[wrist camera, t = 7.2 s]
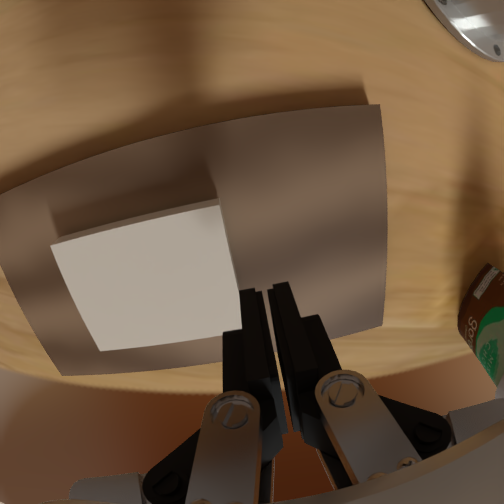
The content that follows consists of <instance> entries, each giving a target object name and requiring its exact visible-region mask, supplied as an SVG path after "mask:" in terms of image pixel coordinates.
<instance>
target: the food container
mask: <svg viewBox="0 0 504 504" xmlns="http://www.w3.org/2000/svg"><path fill="white" fill-rule="evenodd" d="M458 330H459V332H460V334H461V336H462V337H463V338H464V340H465V341H466V342H467V344H468V345H469V347H470V348H471V349H472V351H473V352H474V354H475V355H476V356H477V358H478V359H479V361H480V362H481V364H482V365H483V367H484V368H485V369H486V371H487V373H488V374H489V376H490V377H491V379H492V380H493V382H494V384H495V385H496V387H497V390H496V394H495V399H498V398H504V273H503V272H501V271H500V270H498V269H497V268H495V267H494V266H492V265H490V264H489V263H488V264H487V265H486V266H485V267H484V268H483V269H482V270H481V271H480V273H479V274H478V276H477V277H476V279H475V280H474V282H473V283H472V285H471V286H470V288H469V290H468V292H467V294H466V296H465V298H464V300H463V302H462V305H461V308H460V312H459V315H458Z"/></svg>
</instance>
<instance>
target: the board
mask: <svg viewBox="0 0 504 504" xmlns="http://www.w3.org/2000/svg"><path fill="white" fill-rule="evenodd" d="M217 198H220V203H221V207H222V212H223V217H224V221H225V226H226V231H227V235H228V240H229V244H230V249H231V253H232V258H233V263H234V267H235V272H236V276H237V280H238V285H239V289H240V290H244V289H249V288H255V291H256V292H257V291H262V294H263V299H264V304H265V309H266V314H267V319H268V324H269V329H270V334H271V339H272V345H273V350H274V352H277V347H276V341H275V335H274V329H273V323H272V317H271V311H270V305H269V299H268V293H267V289H273V286H272V284H276V283H281V282H287V281H288V282H289V284H290V287H291V290H292V293H293V296H294V299H295V301H296V304H297V307H298V310H299V313H300V316H301V317H306V316H311V315H316V314H318V315H319V316H320V318H321V320H322V323H323V325H324V327H325V330H326V332H327V335H328V337H329V339H334V338H338V337H342V336H346V335H350V334H353V333H357V332H361V331H364V330H368V329H371V328H375V327H378V326H382V323H383V313H384V301H385V287H386V268H387V182H386V163H385V149H384V138H383V128H382V118H381V110H380V104H378V105H353V106H338V107H325V108H314V109H304V110H295V111H287V112H279V113H272V114H265V115H259V116H252V117H246V118H241V119H235V120H229V121H224V122H219V123H214V124H209V125H204V126H200V127H195V128H191V129H187V130H182V131H178V132H174V133H170V134H166V135H162V136H158V137H155V138H151V139H147V140H144V141H140V142H137V143H133V144H130V145H127V146H123V147H120V148H117V149H114V150H111V151H107V152H104V153H101V154H98V155H95V156H93V157H90V158H87V159H84V160H81V161H78V162H76V163H73V164H70V165H68V166H65V167H62V168H60V169H57V170H55V171H52V172H50V173H47V174H45V175H43V176H40V177H38V178H35V179H33V180H31V181H29V182H26V183H24V184H22V185H20V186H17V187H15V188H13V189H11V190H9V191H7V192H5V193H3V194H1V195H0V265H1V267H2V270H3V272H4V274H5V276H6V279H7V281H8V283H9V285H10V287H11V289H12V291H13V293H14V295H15V297H16V299H17V301H18V303H19V305H20V307H21V309H22V311H23V313H24V315H25V317H26V318H27V320H28V322H29V324H30V326H31V327H32V329H33V331H34V333H35V334H36V336H37V338H38V339H39V341H40V343H41V344H42V346H43V348H44V349H45V351H46V352H47V354H48V355H49V357H50V359H51V360H52V362H53V363H54V365H55V366H56V368H57V369H58V370H59V372H60V373H61V375H62V376H73V375H99V374H116V373H129V372H141V371H152V370H162V369H171V368H179V367H187V366H195V365H202V364H209V363H216V362H222V361H223V359H222V335H221V336H215V337H209V338H202V339H196V340H189V341H183V342H176V343H168V344H161V345H153V346H145V347H137V348H128V349H118V350H108V351H100V350H99V348H98V347H97V345H96V343H95V341H94V339H93V338H92V336H91V334H90V332H89V330H88V328H87V326H86V324H85V322H84V321H83V319H82V317H81V315H80V313H79V311H78V309H77V307H76V305H75V302H74V300H73V298H72V296H71V294H70V292H69V290H68V287H67V285H66V283H65V281H64V278H63V276H62V274H61V272H60V269H59V267H58V264H57V262H56V259H55V257H54V254H53V252H52V249H51V247H50V245H52V244H53V243H54V242H55V241H56V240H57V239H58V238H59V237H62V236H65V235H69V234H72V233H76V232H79V231H83V230H87V229H90V228H94V227H98V226H102V225H105V224H109V223H113V222H117V221H121V220H125V219H129V218H133V217H137V216H141V215H145V214H149V213H154V212H158V211H162V210H166V209H171V208H175V207H180V206H184V205H189V204H193V203H198V202H203V201H208V200H212V199H217Z"/></svg>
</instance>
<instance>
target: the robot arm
mask: <svg viewBox="0 0 504 504" xmlns="http://www.w3.org/2000/svg"><path fill="white" fill-rule="evenodd" d="M424 1H425V2H426V4H427V5H428V6H429V8H430V9H431V10H432V12H433V13H434V14H435V16H436V17H437V18H438V19H439V20H440V22H441V23H442V24H443V25H444V26H445V27H446V28H447V30H448V31H449V32H450V33H451V34H452V35H453V36H454V37H455V38H456V39H457V40H459V41H460V42H461V43H462V44H463V45H464V46H466V47H467V48H468V49H469V50H471V51H472V52H474V53H475V54H477V55H479V56H480V57H482V58H484V59H487V60H490V61H493V62H504V0H424ZM272 286H273V289H267V293H268V299H269V305H270V311H271V317H272V323H273V329H274V335H275V341H276V347H277V353H278V358H279V363H280V368H281V372H282V377H283V382H284V387H285V392H286V396H287V401H288V406H289V411H290V416H291V421H292V425H293V430H294V432H296V431H301V436H302V439H304V442H305V443H306V444H308V445H310V446H313V447H315V448H316V449H317V453H318V455H319V457H320V460H321V462H322V464H323V466H324V468H325V471H326V473H327V475H328V477H329V479H330V481H331V484H332V486H333V488H334V490H335V491H331V492H327V493H322V494H318V495H313V496H309V497H304V498H299V499H293V500H287V501H281V502H274V503H273V483H274V457H275V455H276V454H277V453H278V452H279V451H280V450H281V449H282V448H283V440H282V434H286V433H288V429H287V422H286V416H285V411H284V405H283V399H282V393H281V387H280V381H279V376H278V370H277V365H276V360H275V355H274V350H273V345H272V339H271V334H270V329H269V324H268V319H267V314H266V309H265V304H264V299H263V294H262V291H257V292H256V291H255V288H249V289H244V290H239V298H240V311H241V323H242V329H237V330H231V331H225V332H223V334H222V359H223V393H221V394H219V395H217V396H216V397H214V398H213V399H212V400H211V401H210V402H209V403H208V404H207V406H206V409H205V411H204V415H203V420H202V425H201V428H200V429H199V430H198V431H197V432H195V433H194V434H193V435H192V436H191V437H189V438H188V439H187V440H186V441H185V442H184V443H182V444H181V445H180V446H179V447H178V448H176V449H175V450H174V451H173V452H171V453H170V454H169V455H168V456H167V457H166V458H164V459H163V460H162V461H160V462H159V463H158V464H157V465H155V466H154V467H153V468H152V469H151V470H150V471H149V472H148V473H146V474H139V473H138V472H135V473H128V474H121V475H113V476H104V477H95V478H84V479H81V480H78V481H77V482H75V483H74V484H73V486H72V487H71V489H70V494H69V499H68V500H67V499H64V500H53V501H48V502H44V503H41V504H504V398H498V399H494V400H491V401H488V402H485V403H481V404H477V405H474V406H470V407H466V408H462V409H458V410H454V411H449V412H448V414H447V415H444V416H440V415H438V414H436V413H433V412H430V411H426V410H423V409H420V408H417V407H413V406H410V405H407V404H404V403H401V402H398V401H395V400H392V399H389V398H386V397H383V396H380V395H378V394H377V393H376V391H375V390H374V389H373V387H372V386H371V384H370V383H369V381H368V380H367V379H366V378H365V377H364V376H363V375H362V374H360V373H358V372H356V371H351V370H342V369H341V366H340V364H339V361H338V359H337V356H336V354H335V351H334V349H333V347H332V344H331V342H330V339H329V337H328V335H327V332H326V330H325V327H324V325H323V323H322V320H321V318H320V316H319V315H318V314H316V315H311V316H306V317H301V316H300V313H299V310H298V307H297V304H296V301H295V299H294V296H293V293H292V290H291V287H290V284H289V282H288V281H287V282H281V283H276V284H272Z"/></svg>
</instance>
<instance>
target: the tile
mask: <svg viewBox="0 0 504 504" xmlns="http://www.w3.org/2000/svg"><path fill="white" fill-rule="evenodd" d="M50 247H51V249H52V252H53V254H54V257H55V259H56V262H57V264H58V267H59V269H60V272H61V274H62V276H63V278H64V281H65V283H66V285H67V287H68V290H69V292H70V294H71V296H72V298H73V300H74V302H75V305H76V307H77V309H78V311H79V313H80V315H81V317H82V319H83V321H84V322H85V324H86V326H87V328H88V330H89V332H90V334H91V336H92V338H93V339H94V341H95V343H96V345H97V347H98V348H99V350H100V351H108V350H118V349H128V348H137V347H145V346H153V345H161V344H168V343H176V342H183V341H189V340H196V339H202V338H209V337H215V336H221V335H222V334H223V332H225V331H231V330H237V329H242V323H241V311H240V298H239V290H240V289H239V285H238V280H237V276H236V272H235V267H234V263H233V258H232V253H231V249H230V244H229V240H228V235H227V231H226V226H225V221H224V217H223V212H222V207H221V203H220V198H217V199H212V200H208V201H203V202H198V203H193V204H189V205H184V206H180V207H175V208H171V209H166V210H162V211H158V212H154V213H149V214H145V215H141V216H137V217H133V218H129V219H125V220H121V221H117V222H113V223H109V224H105V225H102V226H98V227H94V228H90V229H87V230H83V231H79V232H76V233H72V234H69V235H65V236H62V237H59V238H58V239H57V240H56V241H55V242H54V243H53V244H52V245H50Z"/></svg>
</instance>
